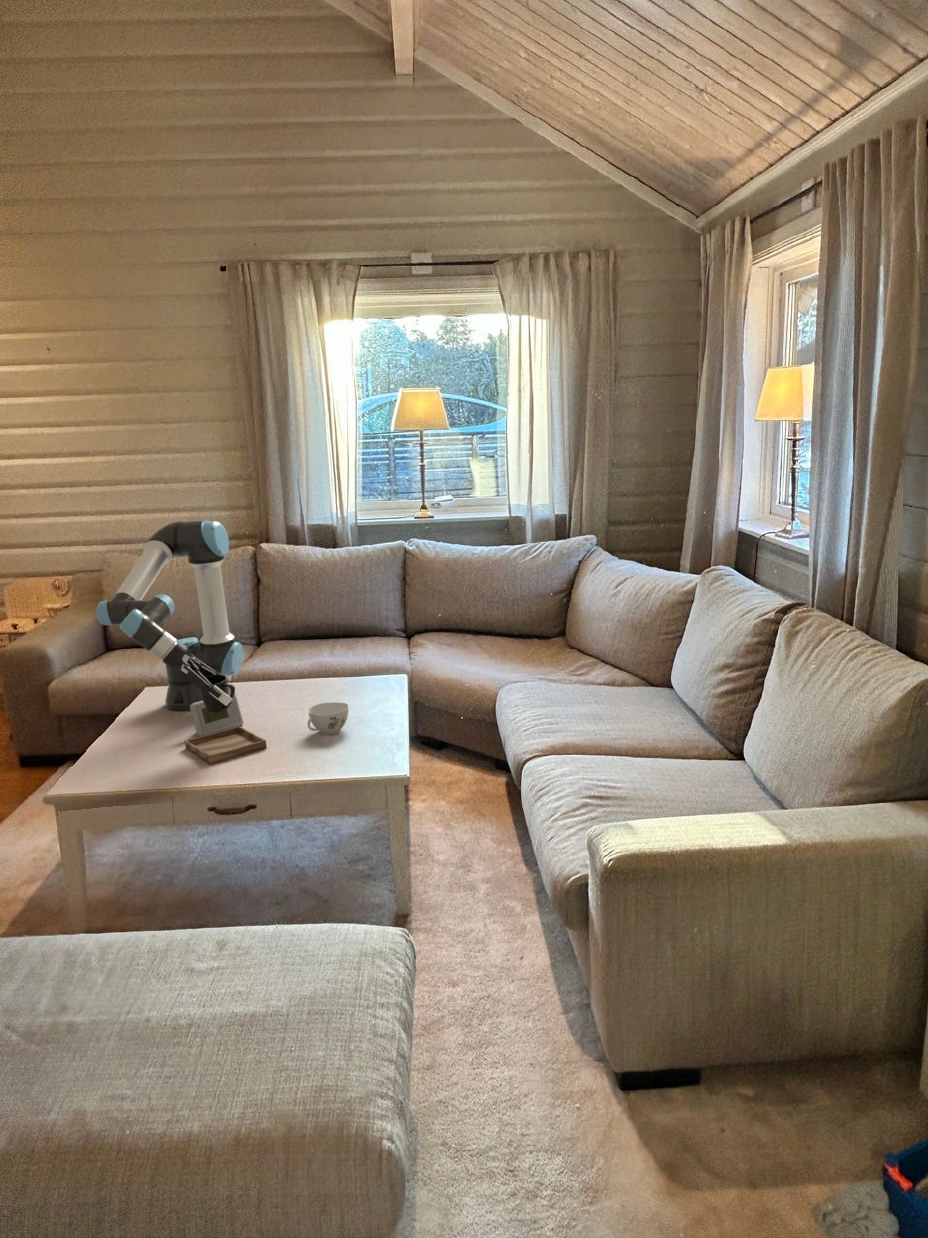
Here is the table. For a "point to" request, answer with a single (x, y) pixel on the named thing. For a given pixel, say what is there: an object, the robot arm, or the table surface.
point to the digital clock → (215, 718)
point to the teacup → (328, 717)
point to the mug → (211, 701)
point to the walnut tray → (225, 745)
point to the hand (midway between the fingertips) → (230, 697)
